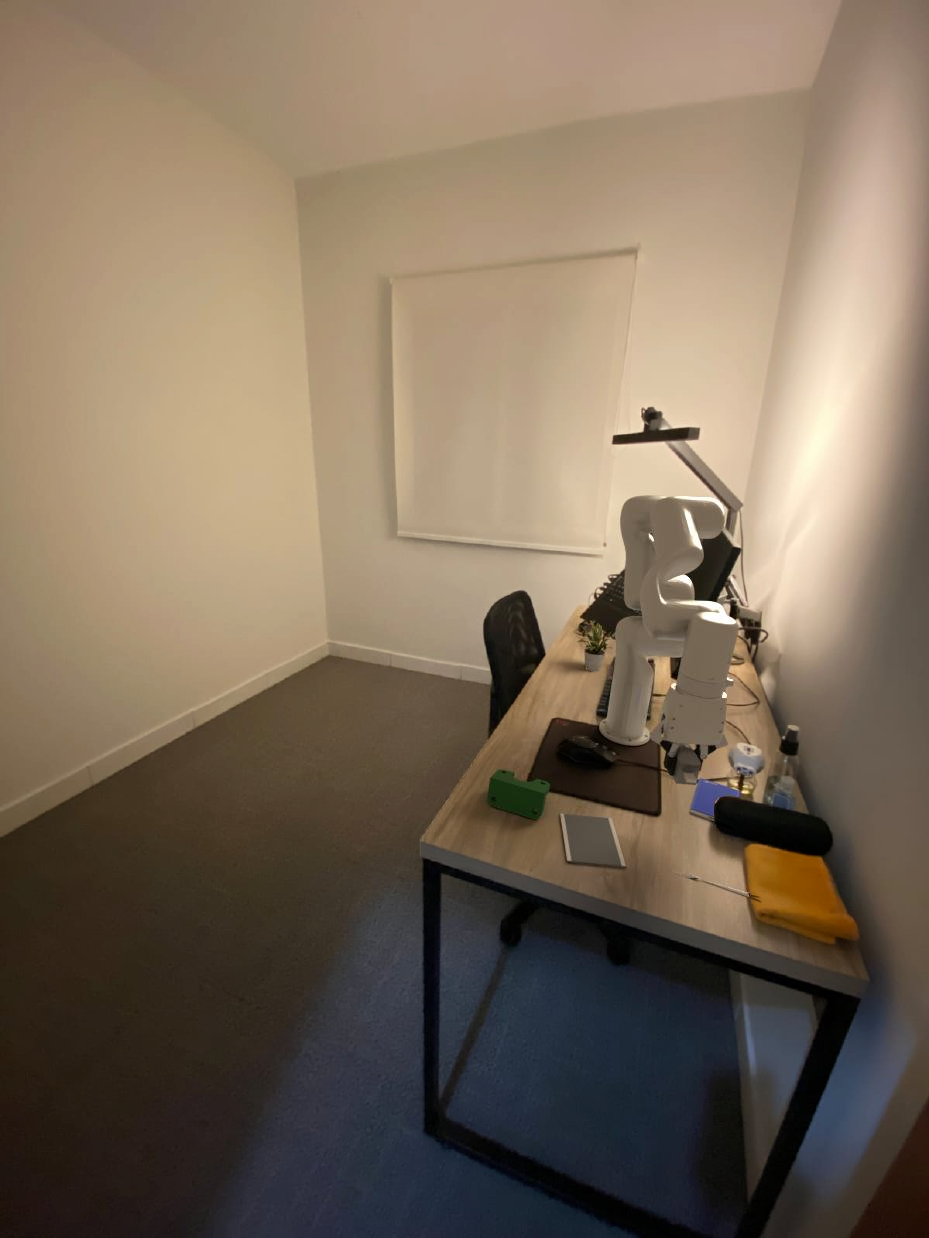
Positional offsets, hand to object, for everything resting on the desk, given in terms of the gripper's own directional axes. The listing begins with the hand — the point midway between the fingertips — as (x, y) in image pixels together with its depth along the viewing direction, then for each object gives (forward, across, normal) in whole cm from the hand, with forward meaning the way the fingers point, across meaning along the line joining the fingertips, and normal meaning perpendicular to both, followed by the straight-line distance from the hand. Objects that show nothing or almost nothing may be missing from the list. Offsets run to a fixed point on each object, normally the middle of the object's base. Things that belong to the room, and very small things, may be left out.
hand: (680, 771), depth 91 cm
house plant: (+15, +3, -77) cm, 78 cm away
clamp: (+13, +29, -3) cm, 32 cm away
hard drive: (+14, -12, -8) cm, 20 cm away
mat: (+12, +16, +6) cm, 21 cm away
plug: (+1, 0, 0) cm, 1 cm away
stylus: (+13, -1, +13) cm, 18 cm away
